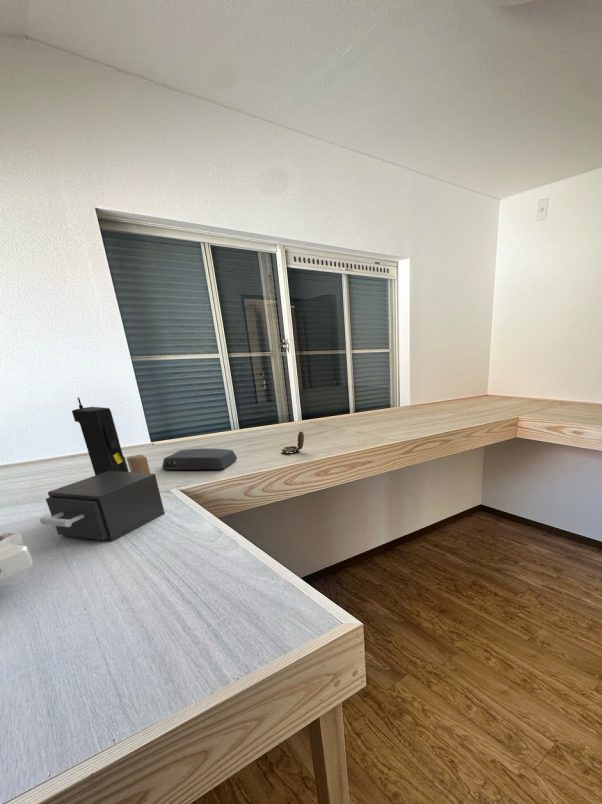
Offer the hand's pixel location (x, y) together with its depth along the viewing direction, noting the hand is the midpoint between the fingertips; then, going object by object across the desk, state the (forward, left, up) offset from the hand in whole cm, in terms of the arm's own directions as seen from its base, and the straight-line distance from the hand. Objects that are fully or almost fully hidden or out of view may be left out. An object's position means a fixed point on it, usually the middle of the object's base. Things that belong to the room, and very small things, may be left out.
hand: (16, 536), depth 71 cm
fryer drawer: (0, +15, -5) cm, 16 cm away
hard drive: (-11, +63, -6) cm, 64 cm away
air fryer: (0, +19, -6) cm, 20 cm away
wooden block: (-15, +43, -6) cm, 46 cm away
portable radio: (-12, +32, -6) cm, 35 cm away
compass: (+11, +83, -6) cm, 84 cm away
